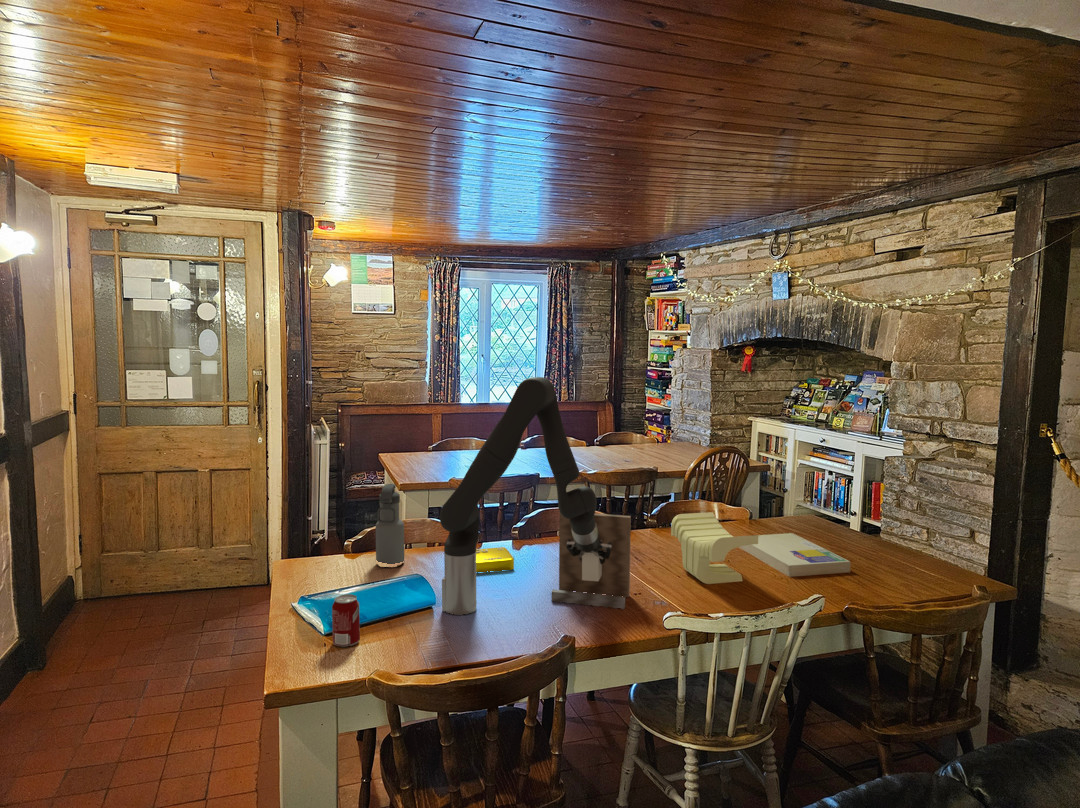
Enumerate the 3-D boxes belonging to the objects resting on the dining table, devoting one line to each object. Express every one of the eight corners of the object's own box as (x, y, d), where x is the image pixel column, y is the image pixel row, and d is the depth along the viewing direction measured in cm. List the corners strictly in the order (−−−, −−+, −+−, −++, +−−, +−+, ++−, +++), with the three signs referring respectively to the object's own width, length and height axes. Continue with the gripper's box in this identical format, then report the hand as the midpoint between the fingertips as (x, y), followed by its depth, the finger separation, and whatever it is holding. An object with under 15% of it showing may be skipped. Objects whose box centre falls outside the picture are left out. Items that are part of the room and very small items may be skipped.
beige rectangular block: (581, 580, 206) (582, 544, 205) (585, 573, 212) (586, 539, 211) (598, 581, 204) (598, 545, 204) (601, 575, 210) (601, 540, 209)
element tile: (472, 575, 230) (471, 561, 229) (464, 561, 244) (464, 548, 244) (515, 571, 234) (515, 557, 233) (505, 558, 248) (505, 545, 248)
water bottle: (400, 569, 234) (399, 489, 231) (372, 569, 234) (371, 488, 232) (407, 559, 244) (406, 483, 242) (380, 559, 244) (378, 482, 242)
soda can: (349, 650, 172) (348, 604, 171) (327, 646, 175) (326, 600, 173) (365, 639, 178) (364, 595, 177) (344, 635, 181) (343, 591, 180)
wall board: (551, 601, 206) (552, 520, 203) (560, 588, 217) (561, 511, 214) (624, 609, 200) (625, 525, 198) (629, 595, 211) (630, 516, 209)
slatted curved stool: (670, 563, 241) (671, 514, 240) (711, 560, 245) (712, 512, 243) (710, 594, 212) (712, 538, 211) (756, 590, 216) (758, 535, 214)
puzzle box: (792, 544, 268) (735, 546, 263) (792, 532, 268) (736, 535, 263) (851, 574, 233) (787, 578, 228) (851, 561, 233) (787, 565, 228)
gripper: (611, 523, 197) (617, 551, 210) (563, 520, 201) (572, 548, 214) (608, 546, 193) (614, 574, 205) (559, 542, 196) (568, 570, 209)
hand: (593, 560), depth 209 cm, fingers closed on beige rectangular block, 5 cm apart
